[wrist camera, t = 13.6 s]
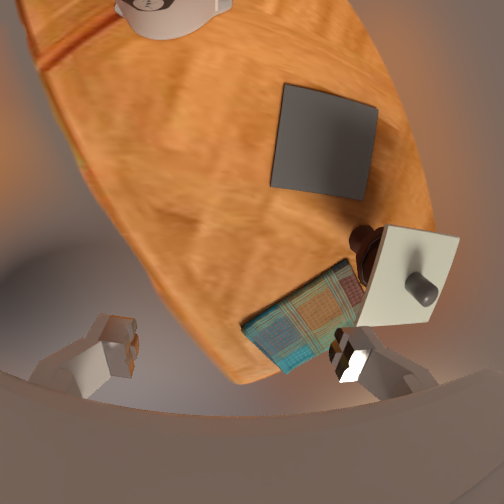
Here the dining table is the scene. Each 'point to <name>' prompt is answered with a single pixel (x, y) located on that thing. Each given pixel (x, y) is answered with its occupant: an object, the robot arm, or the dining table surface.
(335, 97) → the mat
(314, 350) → the dish towel
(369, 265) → the ice cream bowl
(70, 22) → the dining table surface
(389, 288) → the lid
